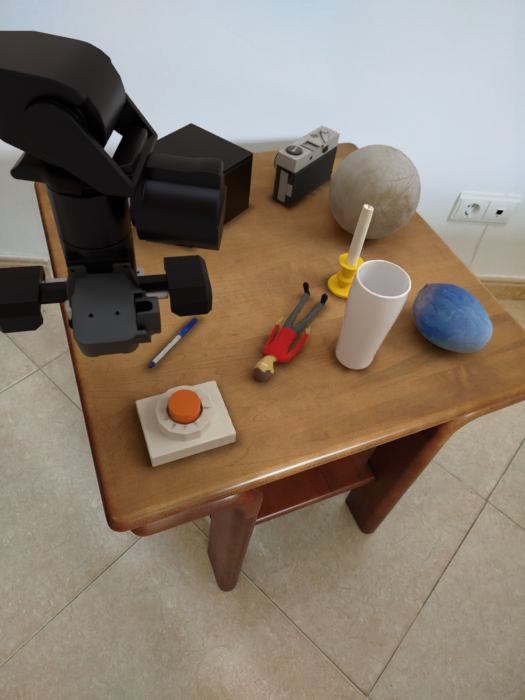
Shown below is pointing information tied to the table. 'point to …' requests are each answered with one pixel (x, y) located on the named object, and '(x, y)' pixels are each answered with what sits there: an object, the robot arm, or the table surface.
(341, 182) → the decorative sphere
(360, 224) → the candle
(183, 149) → the black cabinet
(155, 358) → the ballpoint pen
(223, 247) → the table surface
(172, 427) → the button block
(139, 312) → the robot arm
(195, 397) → the button
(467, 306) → the egg
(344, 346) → the drinking glass
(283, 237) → the table surface
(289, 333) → the person figure
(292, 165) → the camera
